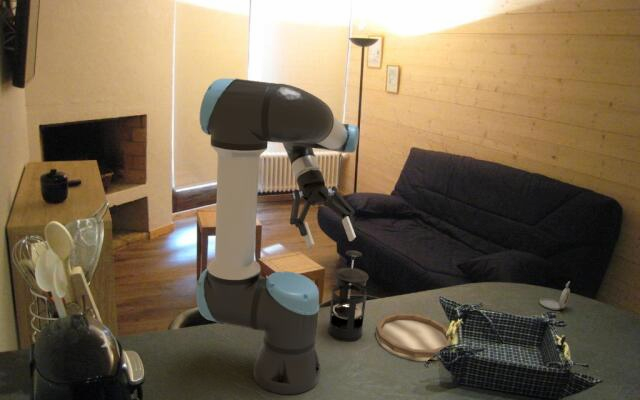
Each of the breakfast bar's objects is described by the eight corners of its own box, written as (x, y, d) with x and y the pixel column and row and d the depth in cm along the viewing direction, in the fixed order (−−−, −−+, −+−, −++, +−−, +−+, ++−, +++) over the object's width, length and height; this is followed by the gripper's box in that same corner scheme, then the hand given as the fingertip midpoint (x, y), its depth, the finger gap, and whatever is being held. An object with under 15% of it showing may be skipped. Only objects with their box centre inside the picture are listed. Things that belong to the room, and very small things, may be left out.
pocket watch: (536, 299, 171) (543, 271, 169) (563, 303, 170) (570, 275, 168) (543, 311, 164) (550, 282, 161) (571, 315, 163) (578, 285, 160)
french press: (367, 342, 136) (377, 260, 130) (331, 343, 135) (340, 260, 128) (356, 320, 148) (365, 243, 141) (323, 320, 146) (331, 242, 140)
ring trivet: (413, 369, 126) (415, 360, 126) (360, 331, 142) (361, 323, 141) (467, 348, 138) (469, 340, 137) (413, 315, 153) (414, 307, 153)
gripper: (338, 178, 160) (362, 241, 153) (264, 184, 147) (287, 254, 140) (350, 165, 154) (375, 231, 147) (274, 171, 141) (298, 243, 134)
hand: (332, 242), depth 143 cm, fingers open, 13 cm apart
